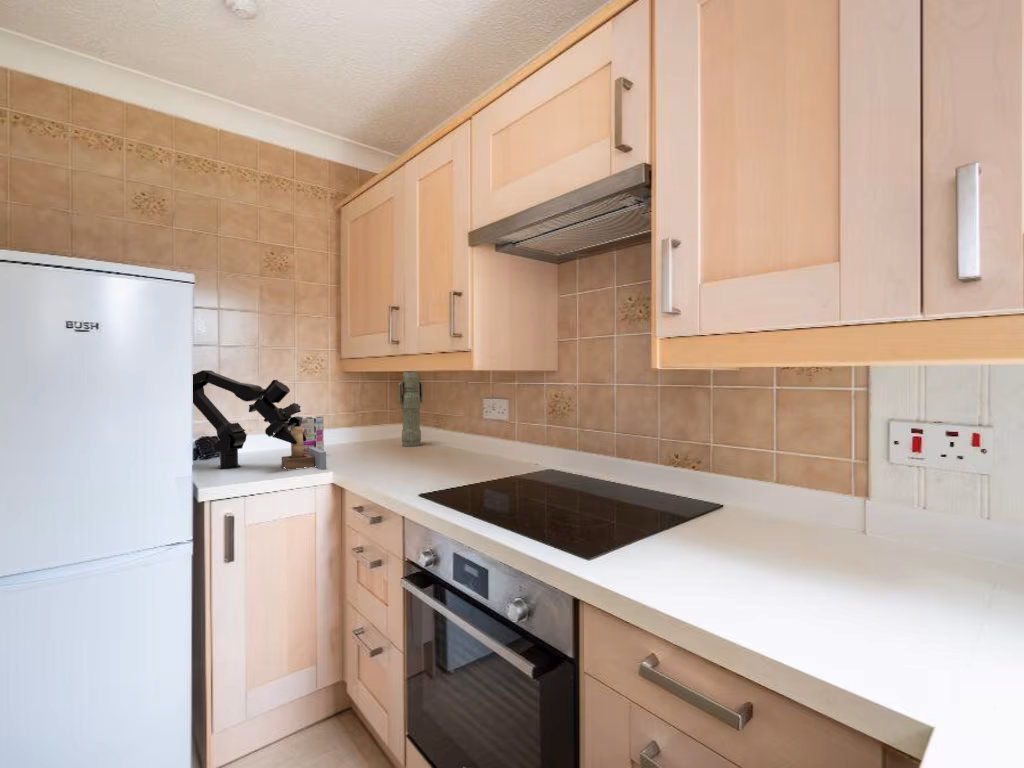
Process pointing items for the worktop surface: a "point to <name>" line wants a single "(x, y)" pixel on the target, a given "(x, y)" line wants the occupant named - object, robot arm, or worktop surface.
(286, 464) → the socket block
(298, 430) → the dowel
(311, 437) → the candy bar box
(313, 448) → the backstop wall
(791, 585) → the worktop surface
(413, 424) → the green stone statue
